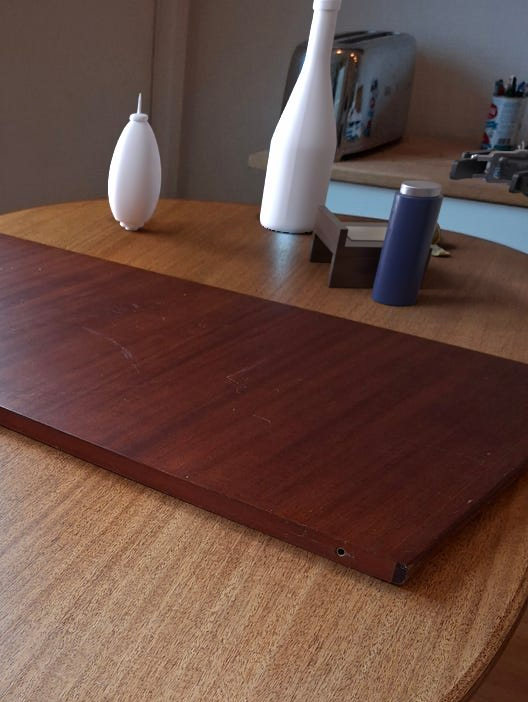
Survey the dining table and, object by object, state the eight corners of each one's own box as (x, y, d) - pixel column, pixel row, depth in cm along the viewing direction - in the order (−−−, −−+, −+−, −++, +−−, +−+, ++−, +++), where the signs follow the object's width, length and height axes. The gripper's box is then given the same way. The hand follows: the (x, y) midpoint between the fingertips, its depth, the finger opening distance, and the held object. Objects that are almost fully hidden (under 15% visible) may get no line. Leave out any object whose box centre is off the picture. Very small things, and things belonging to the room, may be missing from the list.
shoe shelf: (393, 261, 123) (406, 207, 119) (422, 289, 113) (437, 231, 108) (307, 259, 123) (317, 205, 119) (328, 287, 113) (340, 229, 109)
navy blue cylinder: (408, 293, 111) (437, 179, 103) (421, 306, 107) (453, 189, 99) (365, 292, 111) (391, 179, 103) (377, 305, 107) (405, 188, 99)
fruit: (390, 253, 126) (396, 226, 124) (386, 239, 132) (393, 212, 130) (450, 258, 125) (458, 230, 122) (444, 243, 131) (451, 216, 129)
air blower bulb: (162, 225, 137) (174, 91, 126) (149, 237, 132) (160, 97, 121) (115, 220, 140) (122, 88, 128) (99, 232, 134) (106, 94, 123)
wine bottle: (263, 217, 142) (298, -12, 124) (323, 223, 140) (367, -11, 121) (254, 231, 135) (289, -10, 117) (317, 237, 133) (363, -9, 114)
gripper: (525, 122, 115) (443, 132, 109) (629, 139, 106) (546, 151, 99) (505, 185, 120) (426, 198, 113) (603, 207, 111) (523, 223, 104)
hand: (482, 176), depth 106 cm, fingers open, 8 cm apart
